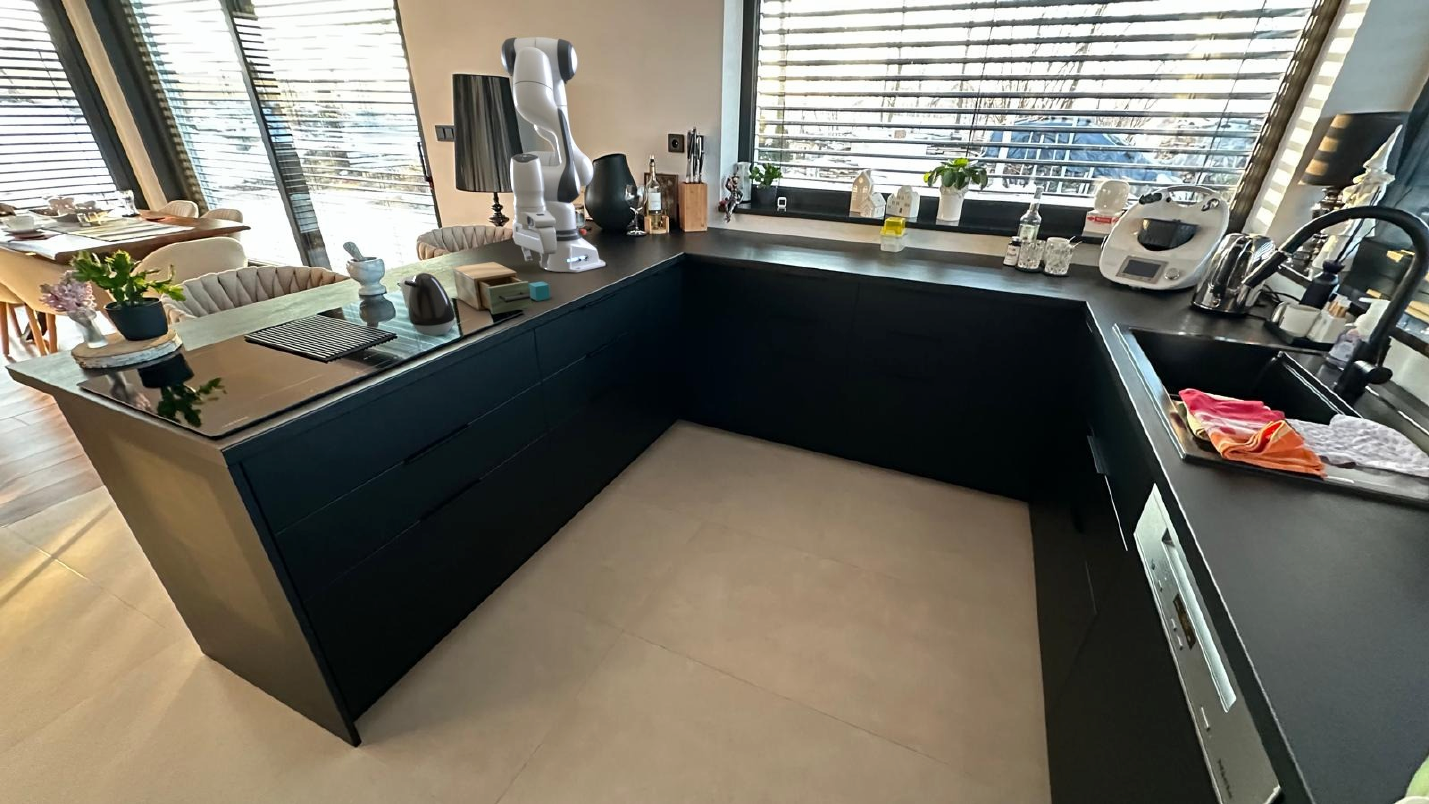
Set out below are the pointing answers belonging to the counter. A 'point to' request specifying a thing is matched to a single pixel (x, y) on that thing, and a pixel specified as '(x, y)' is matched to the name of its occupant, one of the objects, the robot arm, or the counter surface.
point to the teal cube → (539, 291)
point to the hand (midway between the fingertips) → (536, 264)
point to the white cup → (406, 290)
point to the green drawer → (504, 294)
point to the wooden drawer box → (473, 273)
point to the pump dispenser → (429, 305)
